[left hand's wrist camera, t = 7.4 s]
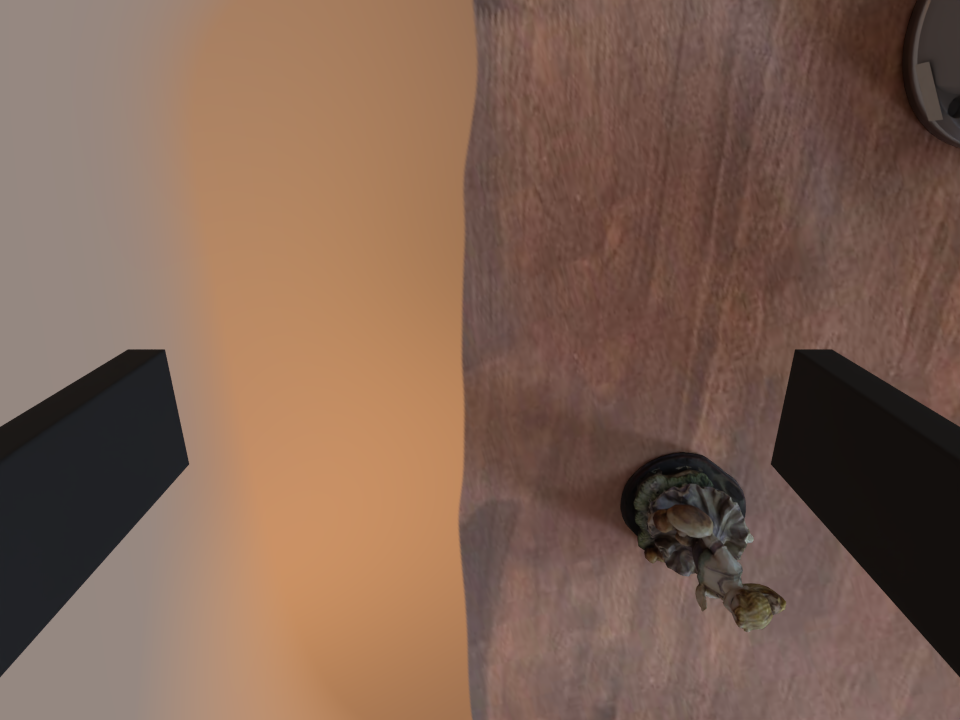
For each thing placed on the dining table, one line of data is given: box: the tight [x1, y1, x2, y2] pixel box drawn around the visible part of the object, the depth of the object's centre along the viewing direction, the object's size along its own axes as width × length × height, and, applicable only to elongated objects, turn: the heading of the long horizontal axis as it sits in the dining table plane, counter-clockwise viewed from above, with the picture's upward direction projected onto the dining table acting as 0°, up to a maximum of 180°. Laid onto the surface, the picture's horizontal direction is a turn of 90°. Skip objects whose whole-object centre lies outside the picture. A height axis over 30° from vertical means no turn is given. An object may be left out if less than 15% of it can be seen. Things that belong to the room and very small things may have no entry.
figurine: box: [621, 452, 786, 632], centre depth 46 cm, size 12×11×15 cm
